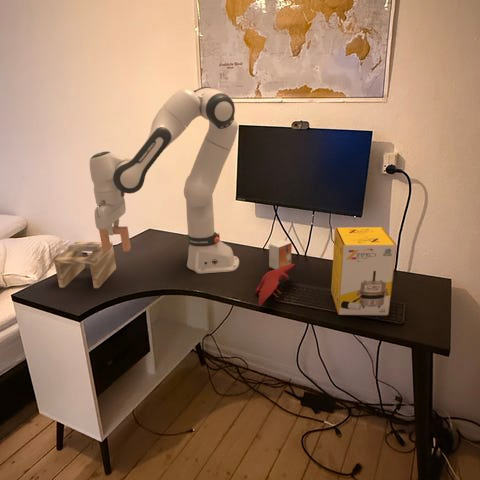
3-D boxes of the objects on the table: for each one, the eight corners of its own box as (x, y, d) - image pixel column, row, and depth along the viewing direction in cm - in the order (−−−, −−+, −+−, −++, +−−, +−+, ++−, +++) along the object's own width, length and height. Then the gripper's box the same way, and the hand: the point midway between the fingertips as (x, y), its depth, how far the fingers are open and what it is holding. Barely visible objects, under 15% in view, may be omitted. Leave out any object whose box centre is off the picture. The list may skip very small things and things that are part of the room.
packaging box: (376, 291, 148) (382, 227, 139) (388, 315, 133) (396, 244, 124) (331, 291, 149) (334, 227, 140) (338, 315, 134) (343, 245, 125)
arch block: (131, 248, 157) (127, 226, 154) (128, 251, 154) (124, 229, 151) (106, 248, 158) (102, 226, 155) (103, 251, 155) (98, 229, 152)
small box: (278, 271, 166) (278, 247, 163) (268, 267, 170) (268, 244, 166) (291, 265, 171) (292, 242, 167) (281, 261, 175) (282, 238, 171)
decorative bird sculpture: (252, 324, 138) (281, 302, 130) (234, 304, 139) (261, 280, 131) (281, 288, 162) (307, 267, 154) (265, 271, 162) (290, 249, 154)
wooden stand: (116, 268, 174) (111, 237, 169) (98, 288, 157) (93, 255, 152) (80, 267, 175) (74, 237, 170) (59, 287, 159) (52, 254, 154)
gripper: (104, 205, 138) (111, 242, 144) (125, 190, 157) (131, 223, 162) (87, 205, 139) (94, 243, 144) (110, 190, 158) (116, 223, 163)
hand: (114, 232), depth 153 cm, fingers closed on arch block, 3 cm apart
